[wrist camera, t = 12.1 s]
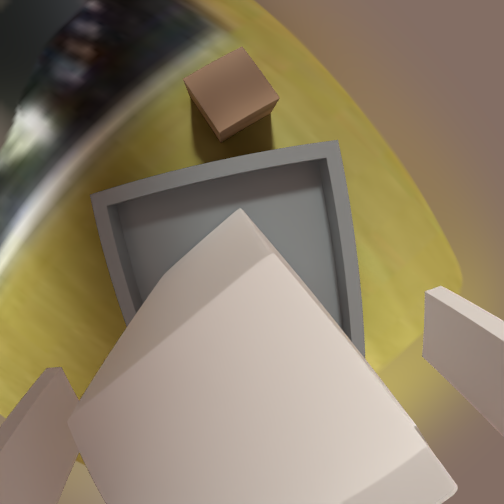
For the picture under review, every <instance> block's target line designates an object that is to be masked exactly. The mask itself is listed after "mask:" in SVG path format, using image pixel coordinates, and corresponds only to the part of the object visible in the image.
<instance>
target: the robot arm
mask: <svg viewBox="0 0 504 504" xmlns="http://www.w3.org/2000/svg"><path fill="white" fill-rule="evenodd" d="M422 357H424V358H425V359H426V360H427V361H428V362H429V363H430V364H431V365H432V366H433V367H434V368H435V369H436V370H437V371H438V372H439V373H440V374H441V375H442V376H443V377H444V378H445V379H447V381H448V382H449V383H451V385H452V386H454V387H455V388H456V389H457V390H458V391H459V392H460V393H461V394H462V395H463V396H464V397H465V398H466V399H467V400H468V401H469V402H470V403H471V404H472V405H473V406H474V407H475V408H476V409H477V410H478V411H479V412H480V413H481V414H482V415H483V416H484V417H485V419H486V420H487V421H488V422H489V423H490V424H491V425H492V426H493V427H494V428H495V429H496V430H497V431H498V432H499V433H500V434H501V435H502V436H503V437H504V321H503V320H501V319H499V318H498V317H496V316H494V315H492V314H491V313H489V312H487V311H486V310H484V309H482V308H480V307H478V306H477V305H475V304H473V303H471V302H470V301H468V300H466V299H464V298H462V297H461V296H459V295H457V294H455V293H453V292H452V291H450V290H448V289H446V288H444V287H442V286H439V287H436V288H433V289H431V290H428V291H425V316H424V338H423V353H422ZM78 402H79V400H78V398H77V396H76V394H75V392H74V391H73V389H72V387H71V385H70V383H69V381H68V379H67V377H66V375H65V373H64V371H63V369H62V367H55V368H46V369H45V371H44V372H43V373H42V374H41V376H40V377H39V378H38V379H37V380H36V382H35V383H34V384H33V385H32V387H31V388H30V389H29V390H28V392H27V393H26V394H25V395H24V397H23V398H22V399H21V400H20V402H19V403H18V404H17V405H16V407H15V408H14V409H13V411H12V412H11V413H10V415H9V416H8V417H7V419H6V420H5V421H4V423H3V424H2V425H1V427H0V504H57V503H58V501H59V498H60V496H61V493H62V491H63V488H64V485H65V483H66V481H67V479H68V476H69V474H70V472H71V469H72V467H73V465H74V463H75V460H76V458H77V456H78V453H79V450H78V448H77V445H76V443H75V441H74V438H73V436H72V434H71V431H70V429H69V426H68V423H67V421H68V419H69V417H70V416H71V414H72V412H73V411H74V409H75V407H76V406H77V404H78Z"/></svg>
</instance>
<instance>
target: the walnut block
mask: <svg viewBox="0 0 504 504" xmlns="http://www.w3.org/2000/svg"><path fill="white" fill-rule="evenodd" d="M183 81H184V83H185V85H186V88H187V90H188V93H189V95H190V98H191V99H192V101H193V102H194V103H195V105H196V106H197V108H198V109H199V111H200V112H201V114H202V115H203V117H204V118H205V120H206V121H207V123H208V124H209V126H210V127H211V129H212V130H213V132H214V133H215V135H216V136H217V138H218V139H219V141H220V142H223V141H225V140H226V139H228V138H229V137H231V136H233V135H234V134H236V133H238V132H239V131H241V130H243V129H244V128H246V127H248V126H249V125H251V124H253V123H255V122H256V121H258V120H260V119H262V118H263V117H265V116H267V115H269V114H270V113H271V112H272V110H273V108H274V107H275V105H276V103H277V102H278V100H279V96H278V95H277V93H276V92H275V91H274V89H273V88H272V86H271V85H270V83H269V82H268V81H267V79H266V78H265V76H264V75H263V74H262V72H261V71H260V70H259V68H258V67H257V65H256V64H255V63H254V61H253V60H252V59H251V57H250V56H249V55H248V53H247V52H246V51H245V50H244V48H243V47H240V48H238V49H236V50H234V51H232V52H230V53H228V54H226V55H225V56H223V57H221V58H219V59H217V60H215V61H213V62H212V63H210V64H208V65H206V66H204V67H203V68H201V69H199V70H197V71H196V72H194V73H192V74H190V75H189V76H187V77H185V78H184V79H183Z"/></svg>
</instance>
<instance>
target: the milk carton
mask: <svg viewBox="0 0 504 504" xmlns="http://www.w3.org/2000/svg"><path fill="white" fill-rule="evenodd" d="M67 423H68V426H69V429H70V431H71V434H72V436H73V438H74V441H75V443H76V445H77V448H78V450H79V452H80V454H81V457H82V459H83V461H84V463H85V465H86V467H87V469H88V471H89V473H90V475H91V477H92V479H93V481H94V483H95V485H96V487H97V488H98V490H99V492H100V494H101V496H102V497H103V499H104V501H105V503H106V504H441V503H443V502H444V501H446V500H447V499H448V498H450V497H451V496H452V495H453V494H454V493H455V492H456V491H457V489H458V486H457V485H456V484H455V482H454V481H453V480H452V478H451V476H450V475H449V474H448V472H447V471H446V470H445V468H444V467H443V465H442V464H441V463H440V461H439V460H438V459H437V457H436V456H435V455H434V453H433V452H432V450H431V449H430V447H429V446H428V444H427V442H426V441H425V439H424V437H423V436H422V434H421V432H420V431H419V429H418V428H417V426H416V424H415V423H414V422H413V421H412V419H411V418H410V417H409V415H408V414H407V413H406V411H405V410H404V409H403V407H402V406H401V405H400V403H399V402H398V401H397V400H396V398H395V397H394V396H393V394H392V393H391V392H390V390H389V389H388V388H387V387H386V386H385V384H384V383H383V381H382V380H381V379H380V377H379V376H378V375H377V374H376V372H375V371H374V370H373V368H372V367H371V366H370V365H369V363H368V362H367V361H366V359H365V358H364V357H363V356H362V354H361V353H360V352H359V351H358V349H357V348H356V347H355V345H354V344H353V343H352V342H351V340H350V339H349V338H348V337H347V335H346V334H345V333H344V332H343V330H342V329H341V328H340V326H339V325H338V324H337V323H336V321H335V320H334V319H333V318H332V316H331V315H330V314H329V313H328V311H327V310H326V309H325V308H324V306H323V305H322V304H321V303H320V301H319V300H318V299H317V298H316V296H315V295H314V294H313V293H312V292H311V290H310V289H309V288H308V287H307V285H306V284H305V283H304V282H303V281H302V279H301V278H300V277H299V276H298V275H297V273H296V272H295V271H294V270H293V269H292V267H291V266H290V265H289V264H288V263H287V261H286V260H285V259H284V258H283V257H282V255H281V254H280V253H279V252H278V251H277V250H276V248H275V247H274V246H273V245H272V244H271V242H270V241H269V240H268V239H267V238H266V237H265V235H264V234H263V233H262V232H261V231H260V229H259V228H258V227H257V226H256V225H255V224H254V222H253V221H252V220H251V219H250V218H249V217H248V215H247V214H246V213H245V212H244V211H243V210H242V209H241V208H239V209H238V210H236V211H235V212H234V213H233V214H232V215H230V216H229V217H228V218H227V219H226V220H225V221H223V222H222V223H221V224H220V225H219V226H218V227H216V228H215V229H214V230H213V231H212V232H211V233H210V234H208V235H207V236H206V237H205V238H204V239H203V240H202V241H200V242H199V243H198V244H197V245H196V246H195V247H194V248H193V249H191V250H190V251H189V252H188V253H187V254H186V255H185V256H184V257H182V258H181V259H180V260H179V261H178V262H177V263H176V264H175V265H173V266H172V267H171V268H170V269H169V270H168V271H167V272H166V273H165V274H164V275H163V276H162V278H161V279H160V280H159V282H158V283H157V285H156V286H155V287H154V289H153V290H152V292H151V293H150V294H149V296H148V297H147V299H146V300H145V302H144V303H143V304H142V306H141V307H140V309H139V310H138V312H137V313H136V315H135V316H134V317H133V319H132V320H131V322H130V323H129V325H128V326H127V328H126V329H125V331H124V332H123V334H122V335H121V337H120V338H119V340H118V341H117V343H116V344H115V346H114V347H113V349H112V350H111V352H110V353H109V355H108V356H107V358H106V359H105V361H104V363H103V364H102V366H101V367H100V369H99V370H98V372H97V373H96V375H95V377H94V378H93V380H92V381H91V383H90V385H89V386H88V388H87V389H86V391H85V393H84V394H83V396H82V397H81V399H80V401H79V402H78V404H77V406H76V407H75V409H74V411H73V412H72V414H71V416H70V417H69V419H68V421H67Z"/></svg>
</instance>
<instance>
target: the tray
mask: <svg viewBox="0 0 504 504" xmlns="http://www.w3.org/2000/svg"><path fill="white" fill-rule="evenodd" d="M90 197H91V202H92V207H93V211H94V216H95V220H96V224H97V229H98V233H99V237H100V241H101V245H102V248H103V252H104V256H105V259H106V263H107V267H108V270H109V273H110V277H111V280H112V283H113V287H114V290H115V293H116V296H117V299H118V302H119V305H120V308H121V311H122V314H123V317H124V320H125V323H126V326H128V325H129V323H130V322H131V320H132V319H133V317H134V316H135V315H136V313H137V312H138V310H139V309H140V307H141V306H142V304H143V303H144V302H145V300H146V299H147V297H148V296H149V294H150V293H151V292H152V290H153V289H154V287H155V286H156V285H157V283H158V282H159V280H160V279H161V278H162V276H163V275H164V274H165V273H166V272H167V271H168V270H169V269H170V268H171V267H172V266H173V265H175V264H176V263H177V262H178V261H179V260H180V259H181V258H182V257H184V256H185V255H186V254H187V253H188V252H189V251H190V250H191V249H193V248H194V247H195V246H196V245H197V244H198V243H199V242H200V241H202V240H203V239H204V238H205V237H206V236H207V235H208V234H210V233H211V232H212V231H213V230H214V229H215V228H216V227H218V226H219V225H220V224H221V223H222V222H223V221H225V220H226V219H227V218H228V217H229V216H230V215H232V214H233V213H234V212H235V211H236V210H238V209H239V208H241V209H242V210H243V211H244V212H245V213H246V214H247V215H248V217H249V218H250V219H251V220H252V221H253V222H254V224H255V225H256V226H257V227H258V228H259V229H260V231H261V232H262V233H263V234H264V235H265V237H266V238H267V239H268V240H269V241H270V242H271V244H272V245H273V246H274V247H275V248H276V250H277V251H278V252H279V253H280V254H281V255H282V257H283V258H284V259H285V260H286V261H287V263H288V264H289V265H290V266H291V267H292V269H293V270H294V271H295V272H296V273H297V275H298V276H299V277H300V278H301V279H302V281H303V282H304V283H305V284H306V285H307V287H308V288H309V289H310V290H311V292H312V293H313V294H314V295H315V296H316V298H317V299H318V300H319V301H320V303H321V304H322V305H323V306H324V308H325V309H326V310H327V311H328V313H329V314H330V315H331V316H332V318H333V319H334V320H335V321H336V323H337V324H338V325H339V326H340V328H341V329H342V330H343V332H344V333H345V334H346V335H347V337H348V338H349V339H350V340H351V342H352V343H353V344H354V345H355V347H356V348H357V349H358V351H359V352H360V353H361V354H362V356H363V357H364V358H365V343H364V325H363V311H362V299H361V288H360V278H359V268H358V259H357V251H356V243H355V236H354V229H353V222H352V215H351V208H350V202H349V196H348V190H347V184H346V179H345V173H344V168H343V163H342V158H341V153H340V148H339V143H338V140H335V141H327V142H319V143H312V144H306V145H299V146H293V147H286V148H280V149H275V150H269V151H263V152H258V153H253V154H247V155H242V156H237V157H232V158H227V159H223V160H218V161H213V162H209V163H204V164H200V165H196V166H191V167H187V168H183V169H179V170H175V171H171V172H167V173H163V174H159V175H156V176H152V177H148V178H144V179H141V180H137V181H134V182H130V183H127V184H123V185H120V186H116V187H113V188H110V189H107V190H103V191H100V192H97V193H94V194H91V195H90Z"/></svg>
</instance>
